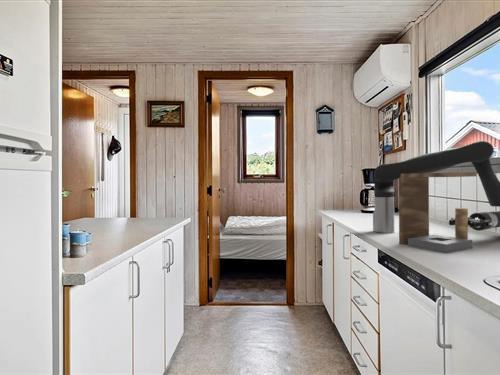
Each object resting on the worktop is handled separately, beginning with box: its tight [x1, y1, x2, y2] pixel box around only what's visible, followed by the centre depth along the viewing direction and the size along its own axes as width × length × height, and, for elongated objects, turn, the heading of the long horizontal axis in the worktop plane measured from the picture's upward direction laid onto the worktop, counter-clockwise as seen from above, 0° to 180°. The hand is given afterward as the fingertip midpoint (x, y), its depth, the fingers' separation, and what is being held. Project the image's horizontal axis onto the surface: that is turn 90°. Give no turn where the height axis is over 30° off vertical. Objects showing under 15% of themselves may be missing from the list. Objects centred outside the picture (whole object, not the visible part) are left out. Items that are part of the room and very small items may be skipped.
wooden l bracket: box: [398, 171, 478, 245], centre depth 148 cm, size 22×16×28 cm
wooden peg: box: [454, 207, 469, 240], centre depth 152 cm, size 4×4×14 cm
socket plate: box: [407, 234, 474, 253], centre depth 146 cm, size 16×16×3 cm
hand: (460, 223), depth 152 cm, fingers open, 8 cm apart
